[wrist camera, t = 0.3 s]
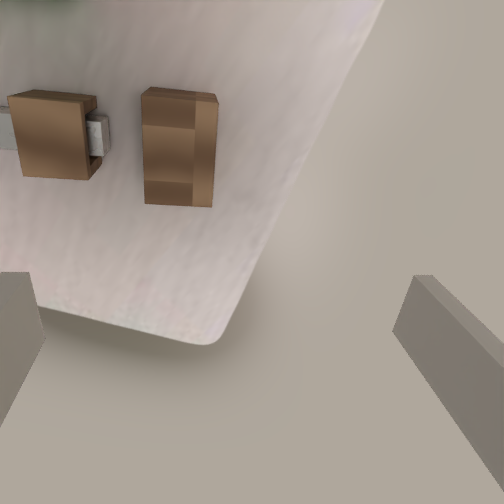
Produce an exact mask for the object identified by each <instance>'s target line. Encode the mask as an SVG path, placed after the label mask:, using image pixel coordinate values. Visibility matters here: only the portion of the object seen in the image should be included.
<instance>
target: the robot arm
mask: <svg viewBox="0 0 504 504" xmlns="http://www.w3.org/2000/svg"><path fill="white" fill-rule="evenodd" d="M392 332H393V333H394V335H395V336H396V337H397V339H398V340H399V342H400V343H401V345H402V346H403V348H404V349H405V350H406V352H407V353H408V355H409V356H410V358H411V359H412V360H413V362H414V363H415V365H416V366H417V368H418V369H419V371H420V372H421V373H422V375H423V376H424V378H425V379H426V381H427V382H428V383H429V385H430V386H431V388H432V389H433V391H434V392H435V393H436V395H437V396H438V398H439V399H440V401H441V402H442V404H443V405H444V406H445V408H446V409H447V411H448V412H449V414H450V415H451V417H452V418H453V419H454V421H455V422H456V424H457V425H458V427H459V428H460V430H461V431H462V432H463V434H464V435H465V437H466V438H467V439H468V441H469V442H470V444H471V445H472V447H473V448H474V450H475V451H476V453H477V454H478V455H479V457H480V458H481V459H482V461H483V463H484V464H485V465H486V467H487V468H488V470H489V471H490V473H491V474H492V476H493V477H494V478H495V480H496V481H497V483H498V484H499V486H500V487H501V488H502V490H503V491H504V344H503V343H502V342H501V341H500V340H499V339H498V338H497V337H496V336H495V335H494V334H493V333H492V332H491V331H490V330H489V329H488V328H487V327H486V326H485V325H484V324H483V323H482V322H481V321H480V320H478V319H477V318H476V317H475V316H474V315H473V314H472V313H471V312H470V311H469V310H468V309H467V308H466V307H465V306H464V305H463V304H462V303H461V302H460V301H459V300H458V299H457V298H456V297H454V296H453V295H452V294H451V293H450V292H449V291H448V290H447V289H446V288H445V287H444V286H443V285H442V284H441V283H440V282H439V281H438V280H437V279H436V278H435V277H433V276H432V275H414V276H413V279H412V281H411V284H410V287H409V289H408V292H407V294H406V297H405V300H404V302H403V305H402V307H401V310H400V313H399V315H398V318H397V320H396V323H395V325H394V328H393V331H392ZM44 341H45V335H44V331H43V327H42V322H41V318H40V314H39V310H38V306H37V302H36V298H35V294H34V290H33V286H32V282H31V278H30V274H29V272H1V273H0V426H1V424H2V423H3V421H4V419H5V417H6V415H7V413H8V411H9V409H10V407H11V405H12V403H13V401H14V399H15V397H16V395H17V394H18V392H19V390H20V388H21V386H22V384H23V382H24V380H25V378H26V376H27V374H28V372H29V370H30V368H31V366H32V364H33V362H34V361H35V359H36V357H37V355H38V353H39V351H40V349H41V347H42V345H43V343H44Z"/></svg>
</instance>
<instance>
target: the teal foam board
mask: <svg viewBox="0 0 504 504" xmlns="http://www.w3.org/2000/svg"><path fill="white" fill-rule="evenodd" d="M85 124H86V133H87V143H88V152H89V155H92V156H104V155H105V154H106V153H107V152H108V151H109V150H110V138H109V126H108V117H104V116H94V115H85ZM0 149H11V150H18V149H17V144H16V139H15V134H14V129H13V124H12V119H11V114H10V109H9V108H8V107H0Z"/></svg>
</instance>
